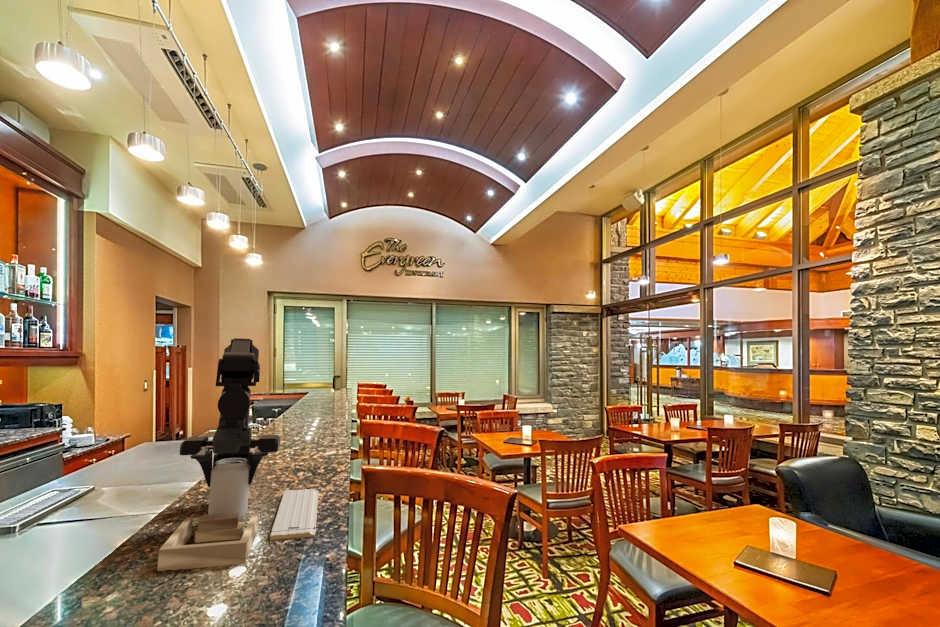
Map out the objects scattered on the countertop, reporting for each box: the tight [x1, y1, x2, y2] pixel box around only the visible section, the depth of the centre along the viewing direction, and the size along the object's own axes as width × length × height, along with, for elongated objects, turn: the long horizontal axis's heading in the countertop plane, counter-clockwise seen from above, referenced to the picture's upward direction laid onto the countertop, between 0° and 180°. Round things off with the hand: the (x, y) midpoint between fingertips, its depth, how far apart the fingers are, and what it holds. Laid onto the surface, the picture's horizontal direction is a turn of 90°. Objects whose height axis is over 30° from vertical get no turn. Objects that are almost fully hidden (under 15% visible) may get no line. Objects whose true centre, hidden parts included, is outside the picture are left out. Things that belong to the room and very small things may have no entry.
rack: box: [156, 512, 260, 572], centre depth 86 cm, size 15×13×4 cm
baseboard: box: [269, 488, 322, 541], centre depth 106 cm, size 30×3×10 cm
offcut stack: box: [194, 512, 245, 544], centre depth 91 cm, size 4×8×4 cm, turn 107°
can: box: [207, 458, 250, 520], centre depth 99 cm, size 8×8×12 cm
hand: (230, 485), depth 99 cm, fingers closed on can, 7 cm apart
